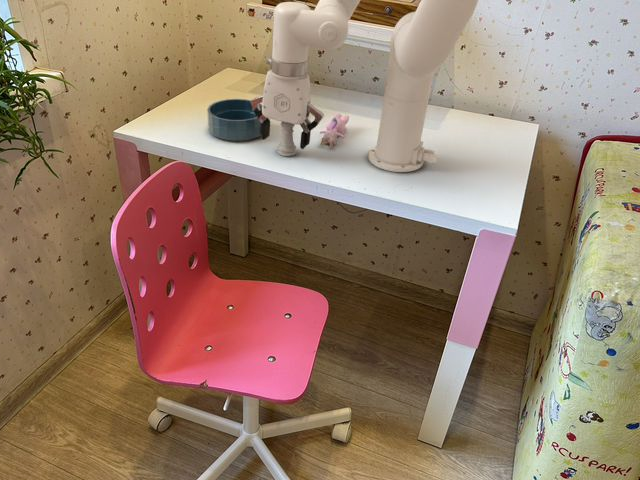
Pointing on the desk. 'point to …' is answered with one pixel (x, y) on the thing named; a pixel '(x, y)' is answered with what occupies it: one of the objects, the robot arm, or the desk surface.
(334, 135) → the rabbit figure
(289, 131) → the rook chess piece
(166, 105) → the desk surface
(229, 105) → the bowl
